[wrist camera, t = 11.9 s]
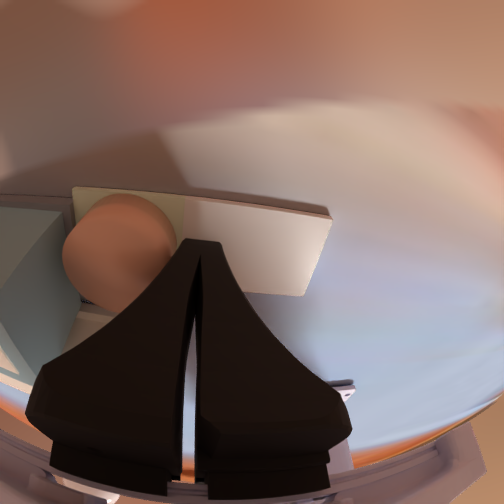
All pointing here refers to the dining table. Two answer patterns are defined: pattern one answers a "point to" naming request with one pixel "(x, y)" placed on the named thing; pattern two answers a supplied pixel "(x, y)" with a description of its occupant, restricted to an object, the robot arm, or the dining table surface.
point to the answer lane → (240, 236)
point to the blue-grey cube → (33, 292)
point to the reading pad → (44, 208)
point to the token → (118, 250)
